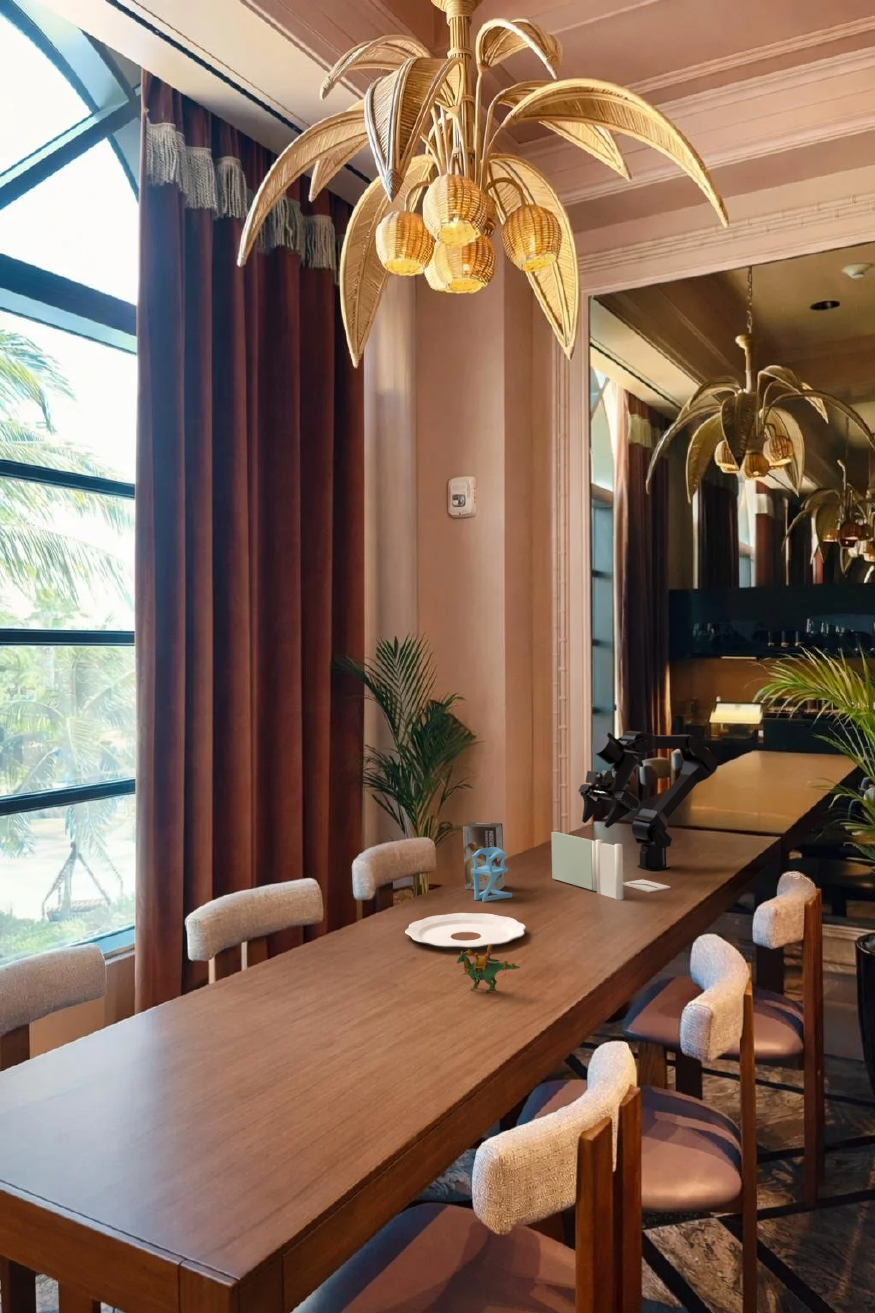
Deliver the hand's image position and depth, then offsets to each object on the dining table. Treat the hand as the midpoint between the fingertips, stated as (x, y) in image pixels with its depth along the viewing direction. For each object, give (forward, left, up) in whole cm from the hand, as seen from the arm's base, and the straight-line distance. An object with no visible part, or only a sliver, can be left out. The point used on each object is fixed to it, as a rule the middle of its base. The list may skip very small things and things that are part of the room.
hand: (594, 824), depth 258 cm
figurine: (+66, +63, -14) cm, 92 cm away
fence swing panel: (+10, +5, -13) cm, 17 cm away
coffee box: (+30, -5, -14) cm, 34 cm away
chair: (+34, +5, -14) cm, 37 cm away
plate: (+54, +31, -14) cm, 64 cm away
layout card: (-5, +15, -14) cm, 21 cm away
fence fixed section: (+8, +18, -14) cm, 24 cm away
